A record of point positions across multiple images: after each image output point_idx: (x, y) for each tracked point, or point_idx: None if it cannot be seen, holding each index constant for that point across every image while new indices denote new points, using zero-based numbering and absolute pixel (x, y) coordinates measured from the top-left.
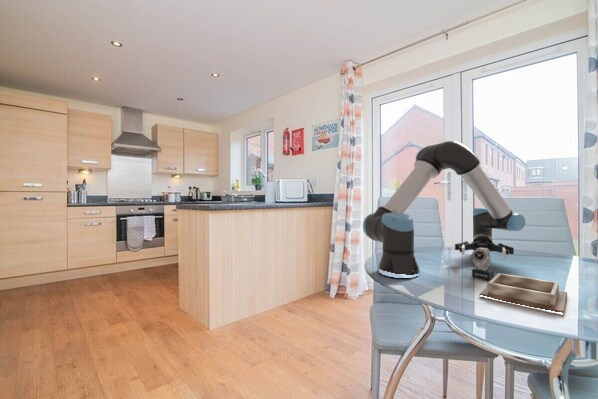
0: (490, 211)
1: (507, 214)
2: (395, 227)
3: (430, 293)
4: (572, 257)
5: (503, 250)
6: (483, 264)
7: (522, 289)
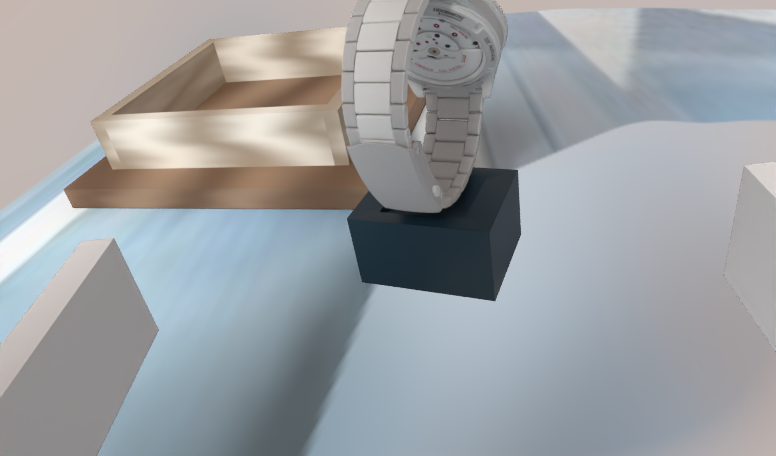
0: None
1: None
2: None
3: (617, 29)
4: None
5: (111, 238)
6: (418, 88)
7: (291, 32)
